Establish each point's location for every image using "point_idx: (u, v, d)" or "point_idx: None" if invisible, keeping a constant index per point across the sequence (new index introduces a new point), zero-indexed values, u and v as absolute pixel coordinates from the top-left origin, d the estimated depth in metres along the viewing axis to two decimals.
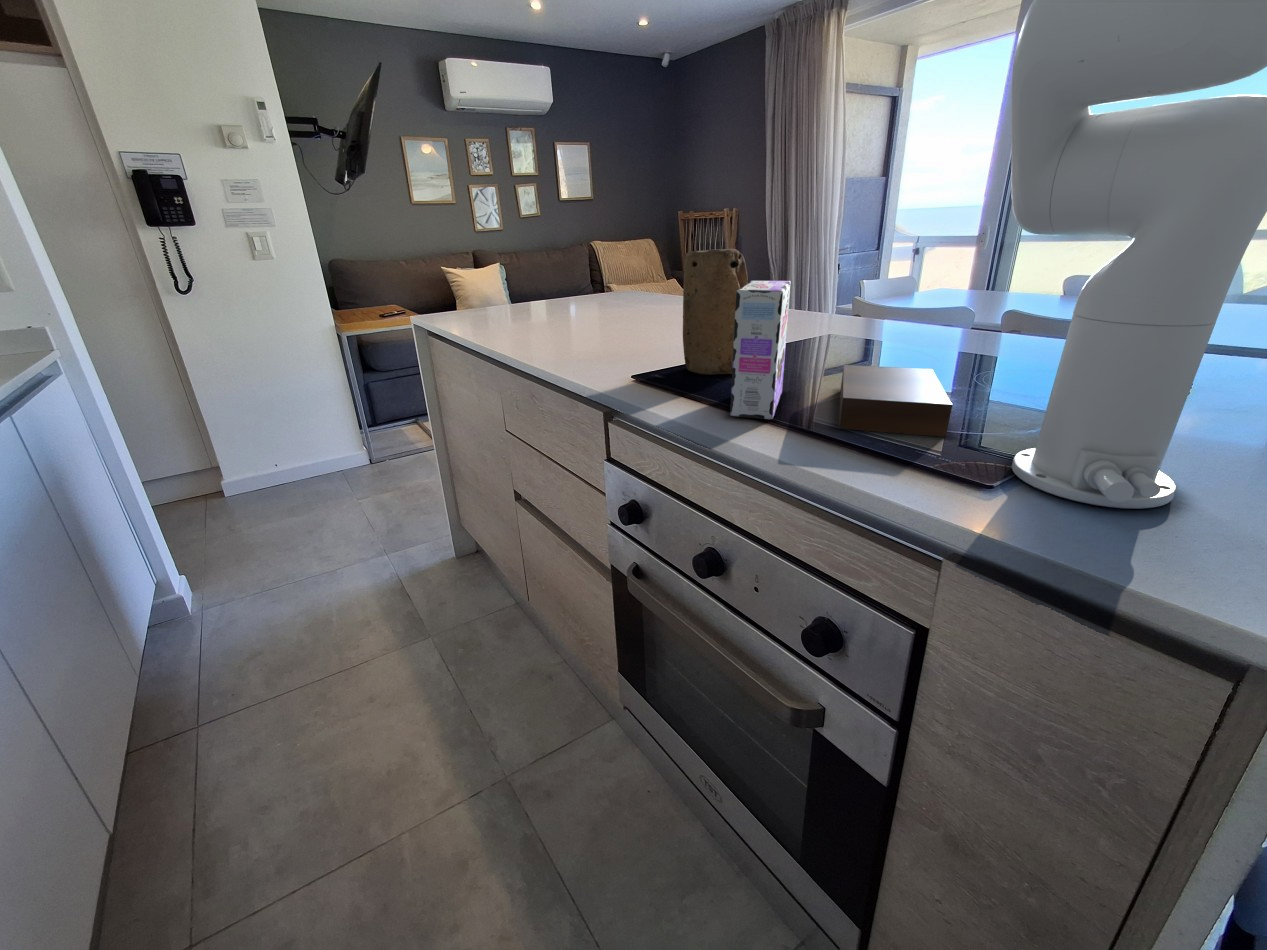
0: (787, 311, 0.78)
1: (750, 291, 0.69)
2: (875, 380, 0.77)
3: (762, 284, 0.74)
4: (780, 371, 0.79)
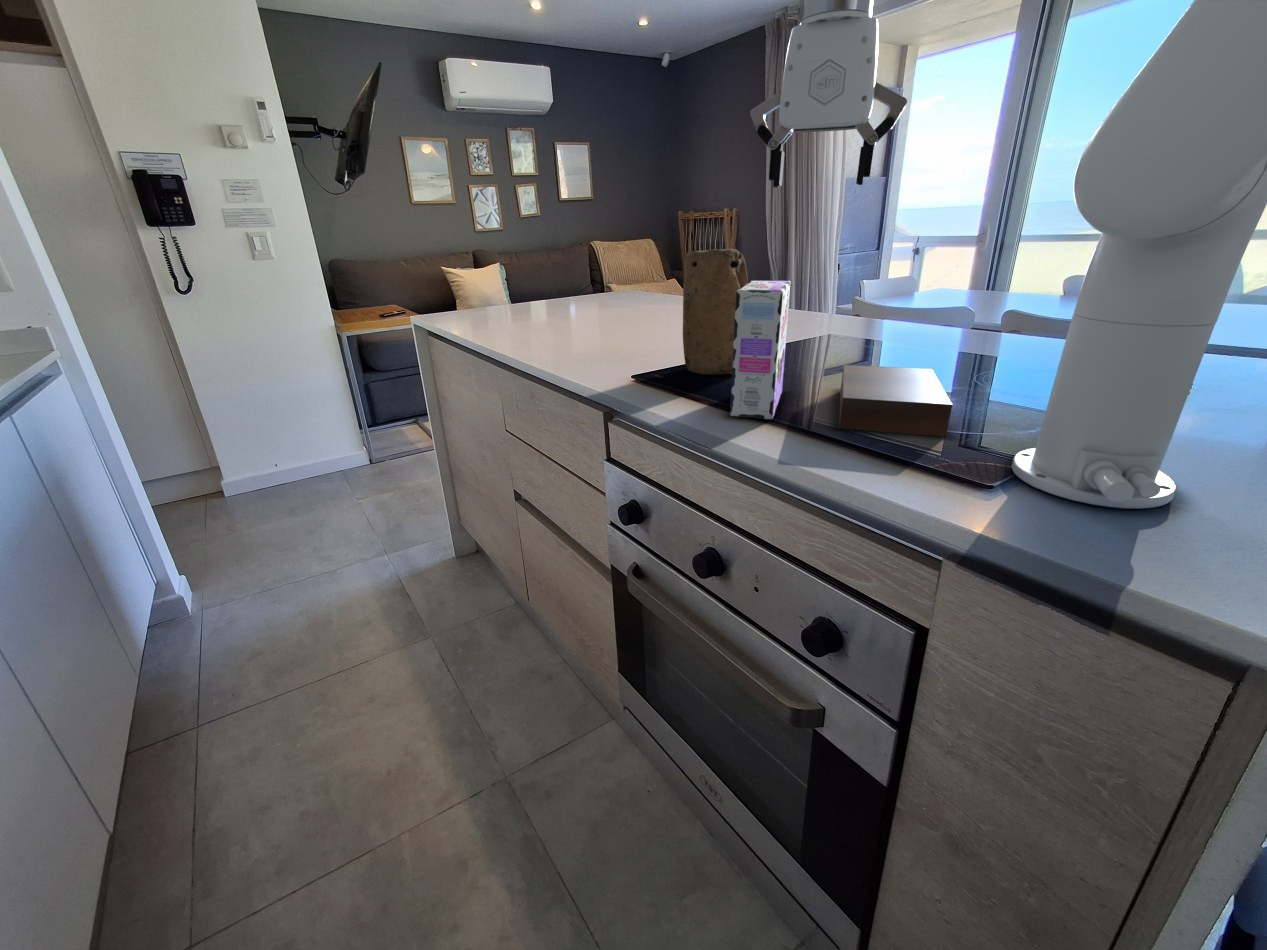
0: (787, 311, 0.78)
1: (750, 291, 0.69)
2: (875, 380, 0.77)
3: (762, 284, 0.74)
4: (780, 371, 0.79)
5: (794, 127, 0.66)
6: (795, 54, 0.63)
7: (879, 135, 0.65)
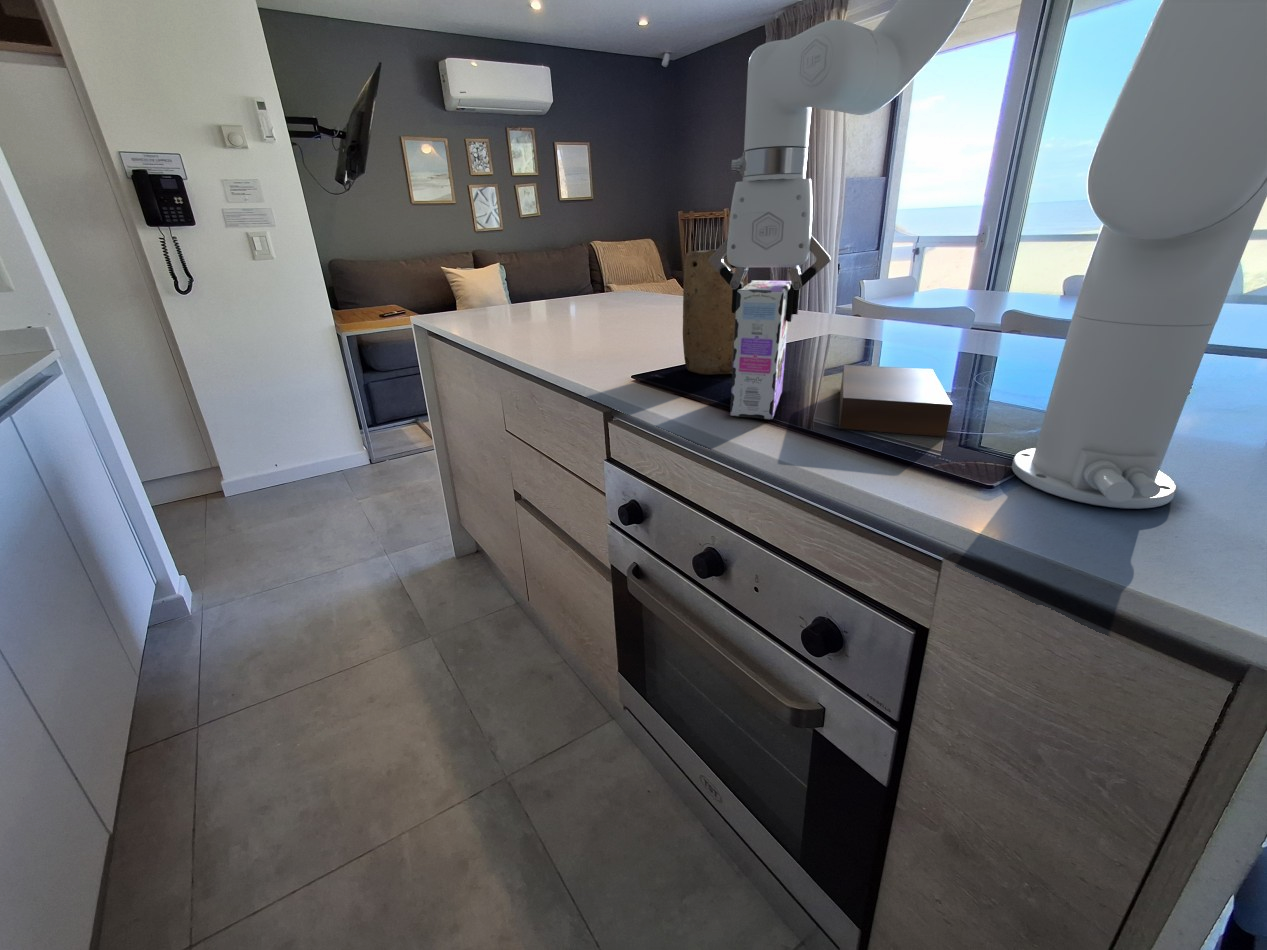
0: None
1: (751, 291, 0.69)
2: (875, 380, 0.77)
3: (763, 284, 0.74)
4: (780, 371, 0.79)
5: (740, 265, 0.73)
6: (738, 205, 0.70)
7: (803, 282, 0.73)
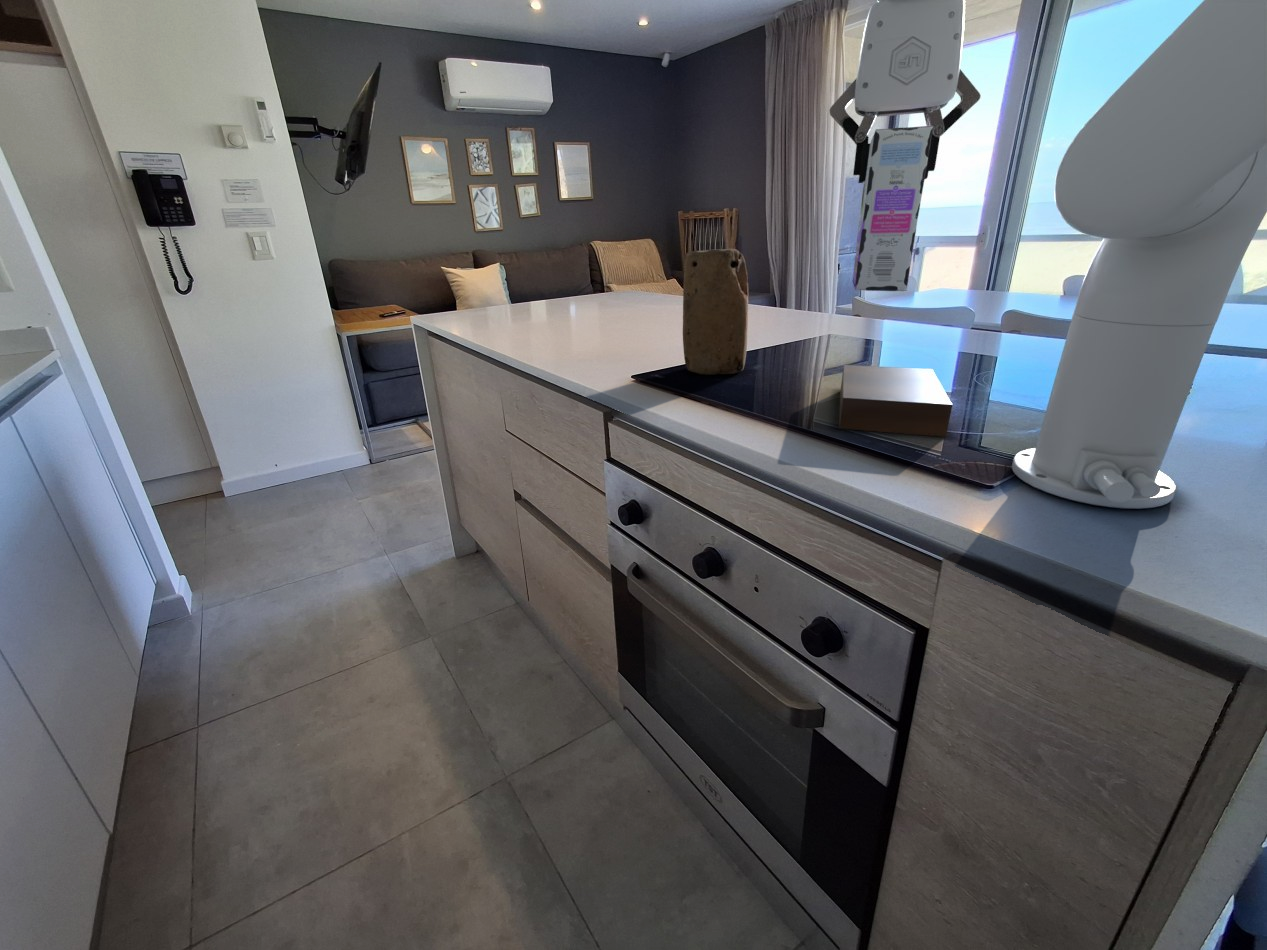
0: None
1: (892, 129, 0.59)
2: (875, 380, 0.77)
3: None
4: None
5: (872, 109, 0.62)
6: (875, 32, 0.60)
7: (945, 127, 0.62)
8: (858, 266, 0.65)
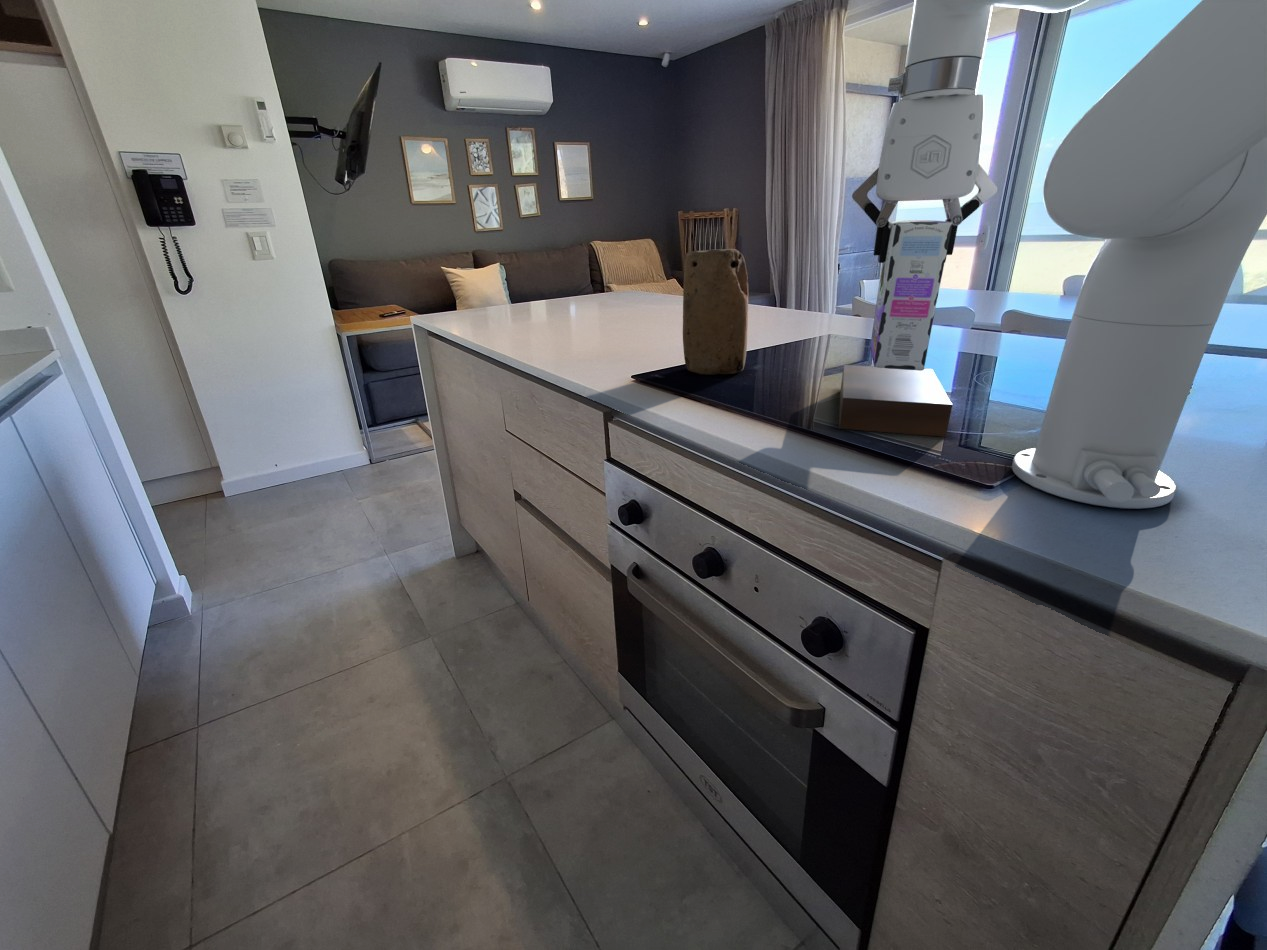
0: None
1: (913, 223, 0.62)
2: (875, 380, 0.77)
3: (915, 220, 0.67)
4: None
5: (893, 198, 0.65)
6: (898, 129, 0.63)
7: (963, 216, 0.65)
8: (877, 346, 0.68)
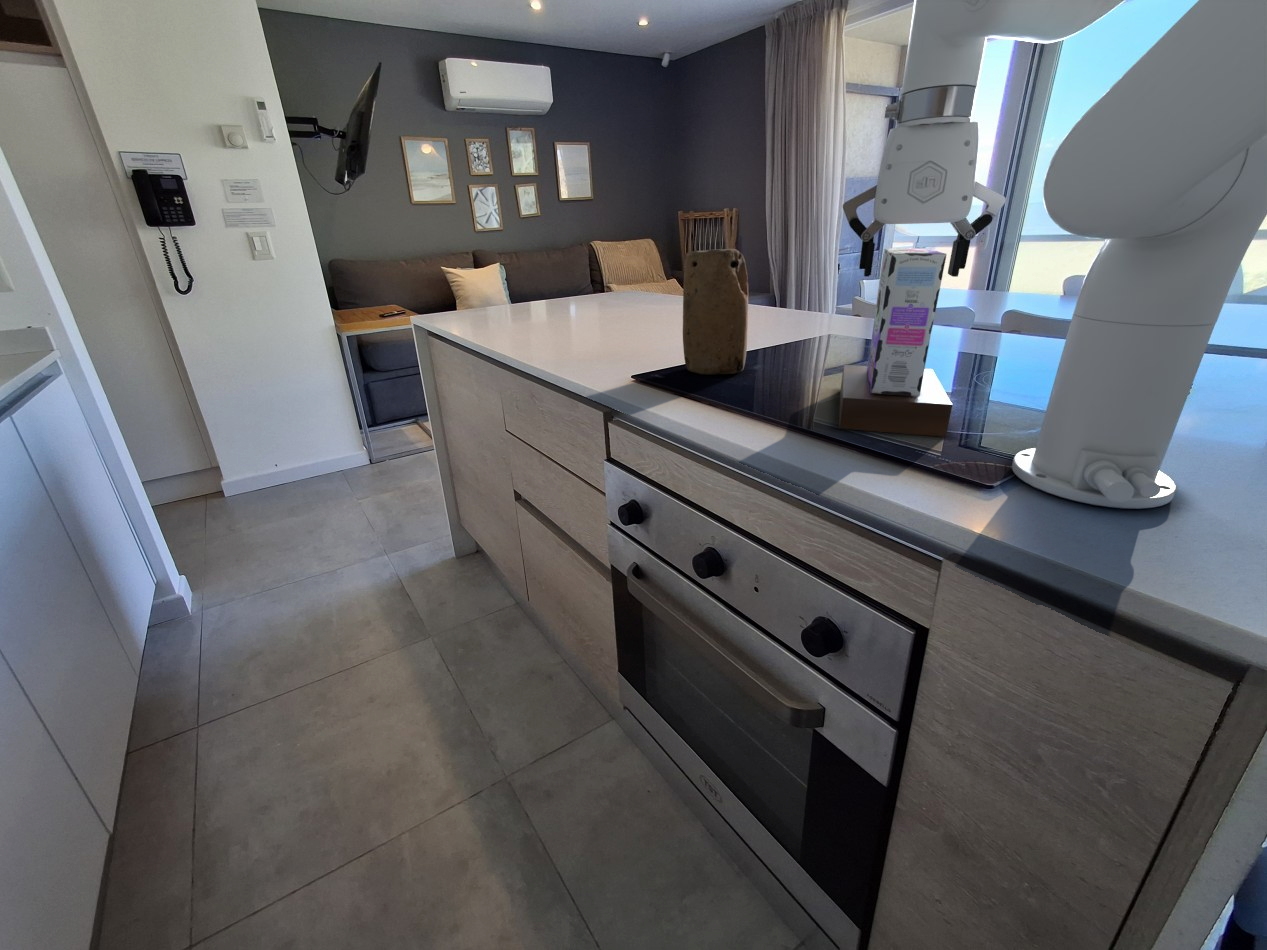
0: None
1: (908, 254, 0.63)
2: None
3: (911, 249, 0.68)
4: None
5: (890, 222, 0.66)
6: (894, 154, 0.64)
7: (976, 231, 0.65)
8: (874, 372, 0.69)
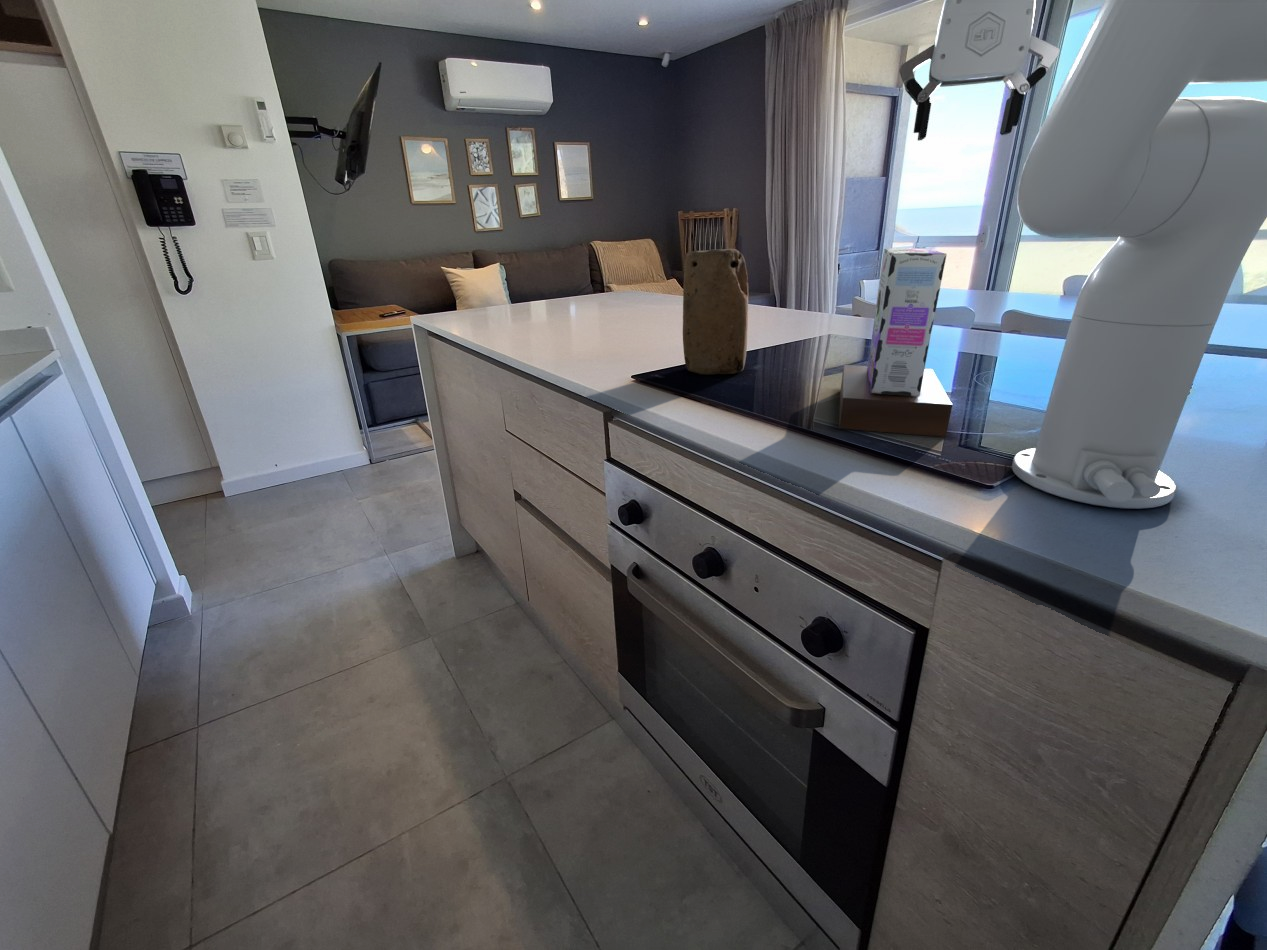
0: None
1: (908, 254, 0.63)
2: None
3: (911, 249, 0.68)
4: None
5: (947, 78, 0.70)
6: (954, 8, 0.67)
7: (1030, 85, 0.69)
8: (874, 372, 0.69)
